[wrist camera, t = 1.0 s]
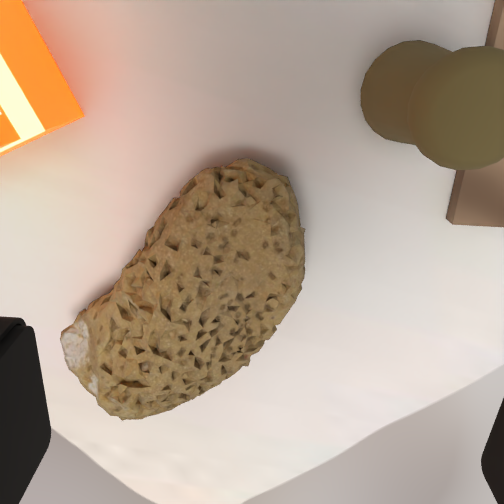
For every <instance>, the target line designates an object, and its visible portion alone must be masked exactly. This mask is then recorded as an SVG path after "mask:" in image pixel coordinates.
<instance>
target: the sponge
mask: <svg viewBox="0 0 504 504" xmlns="http://www.w3.org/2000/svg"><path fill="white" fill-rule="evenodd" d="M304 232H305V229H304V228H302V227H300V218H299V210H298V203H297V200H296V197H295V194H294V191H293V189H292V187H291V185H290V182H289V180H288V177H286V176H282V175H278V174H277V173H275V172H274V171H273V170H271V169H270V168H268V167H265V166H263V165H261V164H259V163H257V162H255V161H253V160H251V159H249V158H245V159H238V160H236V161H235V162H233V163H231V164H230V165H228V166H226V167H223V166H221V167H215V168H212V169H209V168H207V169H204V170H202V171H201V172H200V173H199V174H198V175H196V176H195V177H194V178H193V179H191V180H190V181H189V182H188V183H187V184H186V185H185V186H184V187H183V189H182V190H181V192H180V198H177V199H176V198H173V199H172V201H171V202H170V203H169V205H168V206H167V207H166V209H165V210H164V211H163V212H162V214H161V215H160V216H159V218H158V219H157V221H156V222H155V226H154V227H152V228H151V229H149V230H148V232H147V234H146V239H145V246H144V248H143V250H142V251H141V250H140V249H139V251H138V252H137V254H136V255H135V257H134V258H133V259H132V261H130V262H129V263H128V264H127V265H126V266H125V267H124V268H123V269H122V273H121V277H120V279H119V280H118V281H117V282H116V283H115V285H114V289H112V290H111V292H110V293H109V294H107V295H103V296H101V297H100V298H98V299H97V300H95V301H93V302H92V303H91V304H90V305H89V307H88V310H86V309H84V310H83V311H81V312H80V313H79V315H78V316H77V318H76V320H75V322H74V324H72V325H70V326H69V327H67V328H66V329H64V330H63V331H62V332H61V338H60V341H61V344H62V348H63V351H64V355H65V361H66V364H67V366H68V368H69V370H70V371H72V372H73V373H74V374H75V375H76V376H77V377H78V379H79V381H80V383H81V384H82V385H83V387H84V388H85V389H86V390H87V391H88V392H89V393H91V394H92V395H93V396H95V397H96V400H97V403H98V405H99V406H100V407H102V408H103V409H104V410H105V411H106V412H107V413H108V414H109V415H110V416H118V417H119V418H120V419H121V420H122V421H123V420H126V419H129V420H131V419H143V418H145V417H147V416H151V415H156V414H159V413H162V412H165V411H169V410H172V409H173V408H175V407H176V406H178V405H180V404H182V403H185V402H187V401H189V400H191V399H192V400H193V399H194V398H195V397H196V396H200V395H201V394H203V393H204V392H206V391H208V390H209V389H211V388H213V387H215V386H217V385H219V384H220V383H221V382H222V381H223V380H225V379H228V378H229V377H231V376H232V375H233V374H235V373H236V372H237V371H238V370H240V368H241V367H242V366H248V365H249V362H250V357H251V355H252V354H255V353H257V352H259V351H260V349H261V348H262V346H263V344H264V341H265V340H269V339H270V338H271V336H272V335H273V334H274V333H275V331H276V330H277V328H276V326H275V325H278V324H280V323H281V321H282V320H283V318H284V317H285V315H286V314H287V313H288V311H289V310H290V308H291V307H292V305H293V304H294V303H295V301H296V299H297V296H298V294H299V293H300V291H301V290H302V286H301V283H302V281H303V279H304V275H305V267H304V264H305V248H304Z"/></svg>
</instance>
